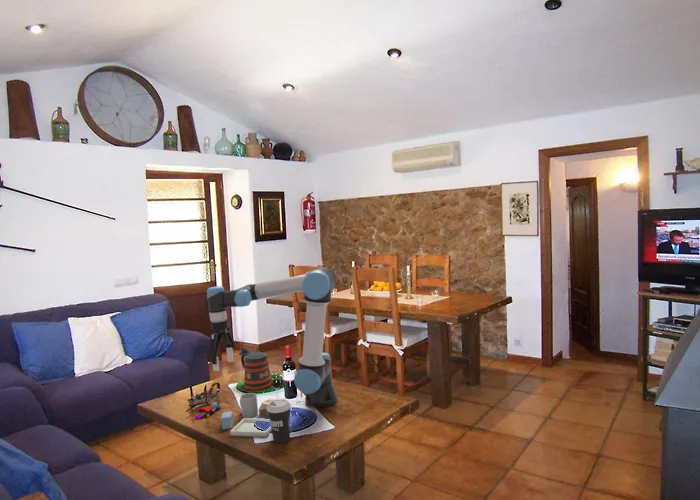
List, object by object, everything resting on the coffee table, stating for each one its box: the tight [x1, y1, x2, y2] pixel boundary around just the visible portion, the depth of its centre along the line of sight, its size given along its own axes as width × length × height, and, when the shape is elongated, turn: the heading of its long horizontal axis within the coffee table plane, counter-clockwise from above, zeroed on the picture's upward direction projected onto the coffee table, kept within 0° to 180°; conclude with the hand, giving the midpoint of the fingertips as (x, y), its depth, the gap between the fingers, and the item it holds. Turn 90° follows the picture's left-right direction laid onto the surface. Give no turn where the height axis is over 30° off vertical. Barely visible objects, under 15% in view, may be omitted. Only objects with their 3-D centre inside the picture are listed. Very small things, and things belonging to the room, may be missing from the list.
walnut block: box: [258, 404, 269, 418], centre depth 221 cm, size 5×5×5 cm
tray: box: [229, 417, 271, 438], centre depth 209 cm, size 16×13×2 cm
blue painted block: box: [220, 411, 234, 430], centre depth 215 cm, size 4×6×5 cm, turn 7°
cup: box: [239, 392, 259, 418], centre depth 226 cm, size 7×10×9 cm
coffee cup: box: [267, 398, 292, 444], centre depth 197 cm, size 10×10×15 cm
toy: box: [194, 402, 224, 421], centre depth 231 cm, size 8×4×15 cm
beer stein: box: [238, 346, 273, 391], centre depth 264 cm, size 19×15×20 cm
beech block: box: [260, 397, 278, 405], centre depth 230 cm, size 6×4×4 cm, turn 147°
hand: (223, 366), depth 228 cm, fingers open, 13 cm apart
